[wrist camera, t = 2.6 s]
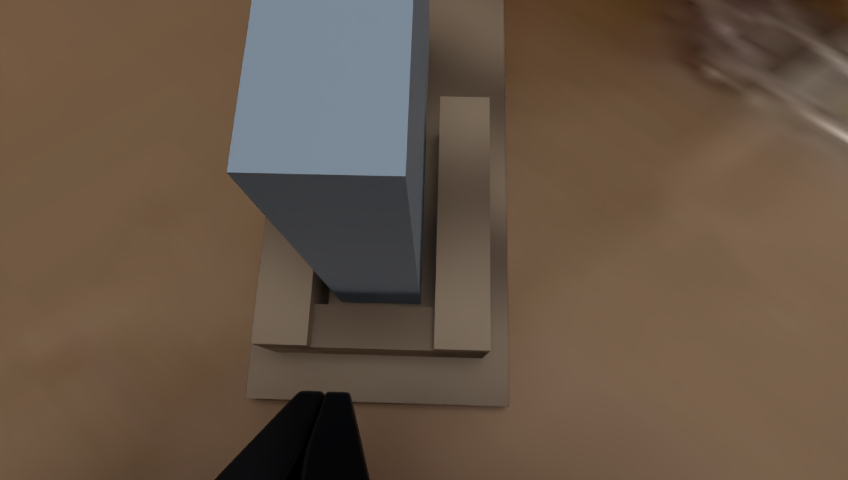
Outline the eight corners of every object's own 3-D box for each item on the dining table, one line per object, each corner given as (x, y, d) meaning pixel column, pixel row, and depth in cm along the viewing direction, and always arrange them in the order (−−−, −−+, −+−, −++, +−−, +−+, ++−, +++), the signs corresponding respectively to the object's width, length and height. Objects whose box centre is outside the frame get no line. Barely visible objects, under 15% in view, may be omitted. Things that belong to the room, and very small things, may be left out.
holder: (504, 406, 17) (522, 407, 14) (255, 398, 18) (213, 397, 14) (498, -123, 24) (509, -210, 20) (315, -125, 24) (296, -211, 21)
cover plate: (420, 304, 17) (405, 176, 8) (341, 301, 17) (226, 172, 8) (429, 34, 20) (427, -306, 10) (361, 32, 20) (297, -306, 10)
